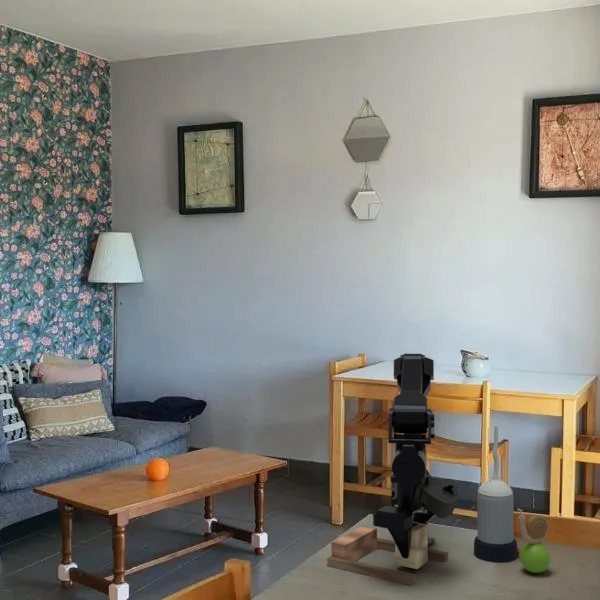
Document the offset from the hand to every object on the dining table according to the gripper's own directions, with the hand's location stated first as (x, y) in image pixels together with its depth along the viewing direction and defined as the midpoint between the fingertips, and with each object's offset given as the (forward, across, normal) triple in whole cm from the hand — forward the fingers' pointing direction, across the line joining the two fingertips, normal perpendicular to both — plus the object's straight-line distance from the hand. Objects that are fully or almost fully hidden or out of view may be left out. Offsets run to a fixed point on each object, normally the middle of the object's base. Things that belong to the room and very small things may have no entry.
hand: (411, 554), depth 149 cm
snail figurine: (+3, +10, -19) cm, 22 cm away
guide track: (+3, 0, +5) cm, 6 cm away
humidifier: (+3, +15, -10) cm, 18 cm away
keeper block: (+2, 0, 0) cm, 2 cm away
